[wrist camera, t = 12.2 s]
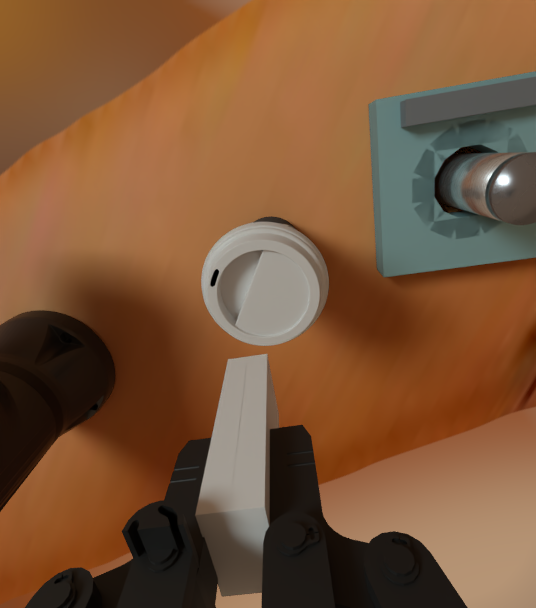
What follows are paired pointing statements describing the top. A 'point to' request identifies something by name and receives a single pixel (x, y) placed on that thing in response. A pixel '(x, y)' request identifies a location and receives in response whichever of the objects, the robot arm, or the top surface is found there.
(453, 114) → the jig
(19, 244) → the top surface
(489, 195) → the metal cylinder
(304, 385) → the top surface
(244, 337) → the coffee cup
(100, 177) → the top surface
